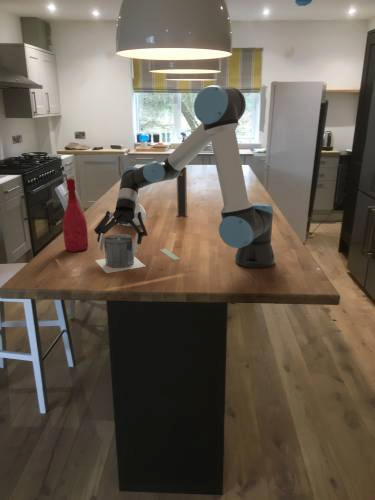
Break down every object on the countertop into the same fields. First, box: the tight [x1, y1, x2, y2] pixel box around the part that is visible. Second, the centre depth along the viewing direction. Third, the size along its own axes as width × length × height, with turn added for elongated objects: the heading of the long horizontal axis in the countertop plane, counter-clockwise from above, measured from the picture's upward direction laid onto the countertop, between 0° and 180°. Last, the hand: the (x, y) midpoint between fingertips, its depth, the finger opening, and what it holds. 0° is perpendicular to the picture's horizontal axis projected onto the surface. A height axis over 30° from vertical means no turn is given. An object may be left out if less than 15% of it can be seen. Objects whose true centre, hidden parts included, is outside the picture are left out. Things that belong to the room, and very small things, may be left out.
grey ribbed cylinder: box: [103, 233, 135, 268], centre depth 152 cm, size 10×10×10 cm
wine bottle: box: [62, 178, 89, 253], centre depth 169 cm, size 10×10×30 cm
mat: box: [160, 248, 181, 261], centre depth 163 cm, size 14×14×1 cm
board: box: [94, 256, 146, 274], centre depth 154 cm, size 15×15×1 cm
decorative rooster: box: [120, 189, 147, 228], centre depth 204 cm, size 25×16×25 cm, turn 7°
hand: (117, 250), depth 150 cm, fingers open, 13 cm apart
